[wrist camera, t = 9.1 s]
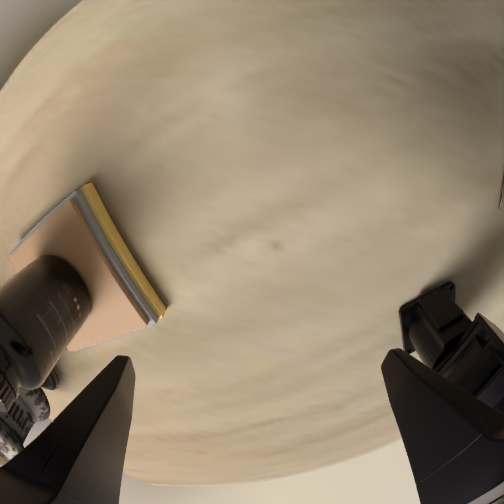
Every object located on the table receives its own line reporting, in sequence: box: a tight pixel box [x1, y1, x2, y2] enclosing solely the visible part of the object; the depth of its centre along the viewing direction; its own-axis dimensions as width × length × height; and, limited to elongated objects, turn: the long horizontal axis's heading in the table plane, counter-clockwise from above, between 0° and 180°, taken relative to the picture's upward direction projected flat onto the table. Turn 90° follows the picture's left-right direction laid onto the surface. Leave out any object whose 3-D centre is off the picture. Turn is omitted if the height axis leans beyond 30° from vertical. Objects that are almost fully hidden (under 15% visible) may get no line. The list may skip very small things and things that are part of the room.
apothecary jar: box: [0, 369, 58, 467], centre depth 19 cm, size 12×12×18 cm
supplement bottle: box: [0, 255, 91, 413], centre depth 13 cm, size 7×7×12 cm
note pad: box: [8, 183, 166, 352], centre depth 20 cm, size 12×12×3 cm
